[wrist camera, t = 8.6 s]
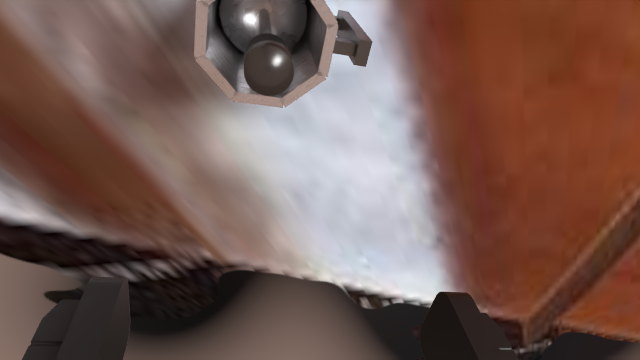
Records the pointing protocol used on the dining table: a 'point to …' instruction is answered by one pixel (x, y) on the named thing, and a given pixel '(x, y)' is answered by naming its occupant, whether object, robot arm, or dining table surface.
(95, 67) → the dining table surface
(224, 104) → the dining table surface
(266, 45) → the plunger
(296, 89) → the carafe
